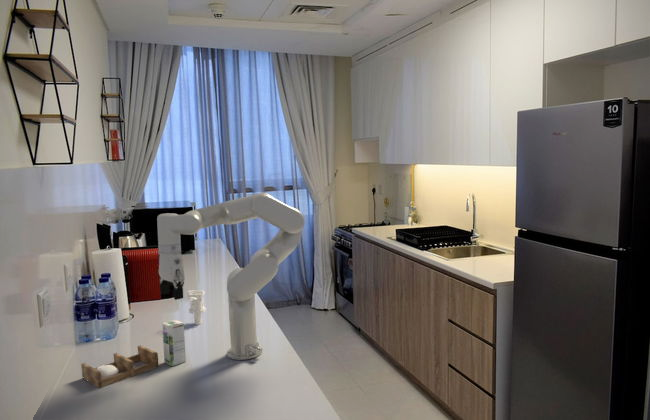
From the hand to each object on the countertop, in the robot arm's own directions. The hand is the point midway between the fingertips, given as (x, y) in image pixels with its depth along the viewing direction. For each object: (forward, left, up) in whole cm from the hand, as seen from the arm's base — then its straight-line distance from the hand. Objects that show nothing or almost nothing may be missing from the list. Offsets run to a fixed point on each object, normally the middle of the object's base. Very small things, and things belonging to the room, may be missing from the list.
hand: (172, 296), depth 181 cm
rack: (+6, +17, -24) cm, 29 cm away
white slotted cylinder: (+29, -29, -24) cm, 47 cm away
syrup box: (-1, +1, -24) cm, 24 cm away
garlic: (+7, +22, -24) cm, 33 cm away
